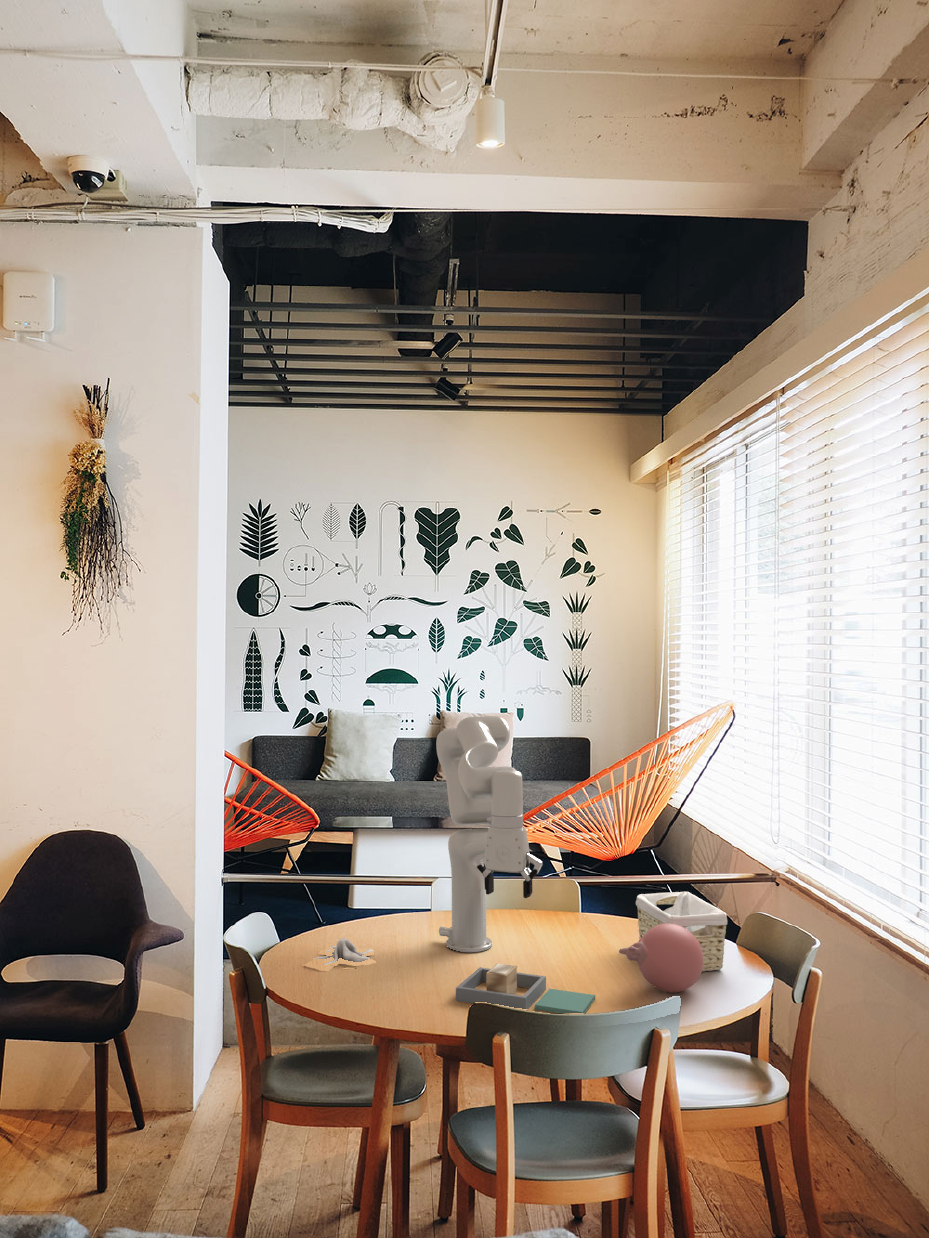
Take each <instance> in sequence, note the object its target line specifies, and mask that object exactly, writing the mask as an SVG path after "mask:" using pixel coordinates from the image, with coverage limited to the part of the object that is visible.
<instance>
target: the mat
mask: <svg viewBox="0 0 929 1238" xmlns="http://www.w3.org/2000/svg"><path fill="white" fill-rule="evenodd" d="M595 1001H596V994H591V993H590V994H589V993H583V992H576V991H568V990H564V989H563V990H562V989H557V988H556V989H555V988H548V990H547V991H546V992H544V994H543V995H542V996H541V998H540V999H539V1000H538V1001H537V1002H536V1003H535V1004H534V1009H535V1011H542V1012H551V1013H556V1012H557V1014H562V1013H585V1014H586V1013H587V1011H588V1010H589V1008H590V1007H591V1006H592V1005H591V1004H593V1003H594V1002H595Z"/></svg>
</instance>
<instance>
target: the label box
mask: <svg viewBox="0 0 929 1238" xmlns="http://www.w3.org/2000/svg"><path fill="white" fill-rule="evenodd" d="M517 967H518V966H517V965H512V964H505V963H504V964H503V963H496V964H494V965H493V967H491V968H489V969H490V970H489V971H488V972H487V973H486V982H485V984H486V985H485V986H486V989H485V990H487V991H494V992H500V993H507V994H514V995H516V993H517V991H518V987H517V972H518V968H517Z"/></svg>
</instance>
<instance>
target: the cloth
mask: <svg viewBox="0 0 929 1238" xmlns="http://www.w3.org/2000/svg"><path fill="white" fill-rule="evenodd" d="M329 947H330V948H333V949H335V950H334V952H332V954H333V955H332V956H323V955H322V956H317V957H314V958H313V959H327V958H330V957H333V958H334V960H333V961H331V962H328V963H326V964H324V965H328V964H331V963H334V962H336V961H338V959H339V958H342V959H344V960H348V961H353V962H362V961H365V960H368V959H370V958H371V957H370V956H368V957H367V956H362V955H364V954H366V953H367V952H372V951H374V950H373V949H372V948H369V950H367V951H365V952H362V953H360V952H357V950H356V949H357V947H356V946H355V945H354V943H353V942H352V941H350V940H349V938H347V937H344V938H343V937H341V938H339V939H338V941H337V942H336V945H334V946H329ZM327 951H328V952H331V951H330V950H327Z"/></svg>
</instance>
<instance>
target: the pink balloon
mask: <svg viewBox="0 0 929 1238" xmlns="http://www.w3.org/2000/svg"><path fill="white" fill-rule="evenodd" d="M642 936H643V935H642ZM618 953H619V955H620V954H621V955H625V956H626V958H627V959H628V961H630V962H633V961H635V962H636V963H637V965H638V967H639V971H640V972H641V974H642V976H643V977H644V978H645V980H646V981H647V982H648V983H649V984H650V985H651V986H653V987H654V988H656V989H657V990H659V991H662V992H665V993H666V992H667V993H680V992H684V991H686V990H688V989H690V988H691V987H692V986H694V985H695V984H696V983H697V981H698V980H699V979H700V977H701V974H702V973H703V972H702V969H703V963H704V958H703V952H702V948H701V946H700V944H699V942H698V940H697V939H696V938H695V936H694V935H693V934H692V933H691V932H690V931H688V930H687V929H685V928H684V927H681V926H679V925H676V924H660V925H657V926H655V927H653V928H651V929H650V930H649V931H647V932H646V933H645V935H644V936H643V937H642V938H641V939H640V940H638V942H634V943H633V944H632V945H630V946H629V947H623V948H620V949H619V950H618Z"/></svg>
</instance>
